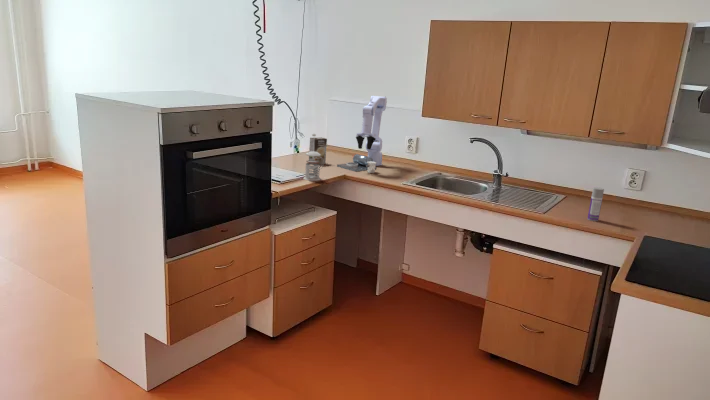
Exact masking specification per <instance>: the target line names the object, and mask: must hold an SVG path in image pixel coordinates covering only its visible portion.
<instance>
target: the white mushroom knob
mask: <svg viewBox="0 0 710 400" xmlns="http://www.w3.org/2000/svg"><path fill="white" fill-rule="evenodd" d="M367 163H368V165H366V167H368V170H366V171H367V173H368V174H369V173H370V174H375V173H376V169H375V167H376V166H375V164H376V162H367Z"/></svg>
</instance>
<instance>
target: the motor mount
mask: <svg viewBox="0 0 710 400" xmlns="http://www.w3.org/2000/svg"><path fill="white" fill-rule="evenodd" d="M367 162H373V159H372V158H371V157H368V155H367V156H366V155H362V154H358V153H357V154H355V155H353V158H352V162H351V161H349V162H346V163H338V164H336V167H338V168H341V169H345V170H349V171H352V172H361V171H368V167H366V165H368V163H367ZM376 169H377V166H375V170H376Z"/></svg>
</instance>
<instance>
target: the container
mask: <svg viewBox="0 0 710 400" xmlns="http://www.w3.org/2000/svg"><path fill="white" fill-rule="evenodd" d="M604 191H605V189H604V188H603V187H597V186H596V187H593V188H592V193H591V197H590V203H589V207H588V208H589V209H588V213H587V214H588V215H587V220H588V221H592V222H599V219H600V213H601V208H602V203H603V197H604Z"/></svg>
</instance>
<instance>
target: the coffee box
mask: <svg viewBox="0 0 710 400" xmlns="http://www.w3.org/2000/svg"><path fill="white" fill-rule="evenodd" d="M313 145H314V152H318V153H319V154H321V155H320V157H322V158H323V159H322V158H320V157H318V156H308V160H315V161H319V163H317V164H318V165H319V164H320V165H321V164H322V165H323V160H324V164H326V160H327V159H326V158H327V148H328V147H327V145H328V139H327V138H325V137H310V138H309V150H308V151H309V152H311V151H313ZM318 158H320V159H318ZM321 159H322V160H321Z"/></svg>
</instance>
